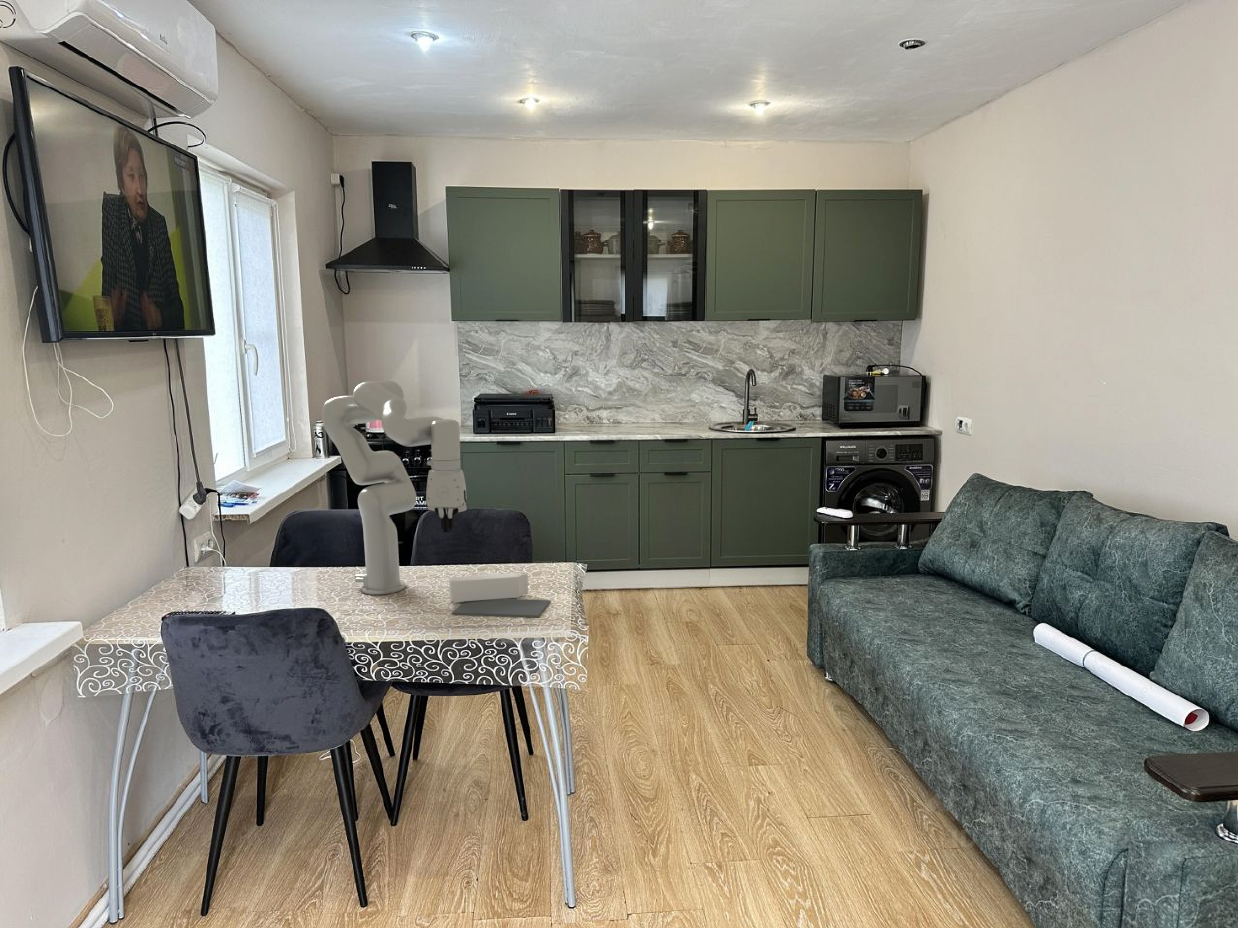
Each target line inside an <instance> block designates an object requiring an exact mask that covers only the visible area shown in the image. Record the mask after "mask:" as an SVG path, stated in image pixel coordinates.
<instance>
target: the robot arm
mask: <svg viewBox="0 0 1238 928" xmlns="http://www.w3.org/2000/svg"><path fill="white" fill-rule="evenodd" d="M404 397H405V396H404V391H403V388H402V387H401V386H400V384H398V383H397V382H395V381H393V380H372V381H371V380H369V381H365V382H361V383H359V384H358V385H357V386H356V387H355V388H354V390H353V394H352V395H342V396H336V397H333V398H330V399H328V400H326V401H325V403H324V405H323V406H322V409H321V419H322V425H323V428H324V430H325V432H326V434H327V435H328V436H329V438H330V440H331V441H332V442H333V444H334V445H335V447H336V448H337V451H338V452H339V454H340V457H341V459H342V462H343V464H344V466H345V467H346V469H347V472H348V474H349V475H350V478H351V479H352V481H353V482H354V483H355V484H356V485H359V486H366V485H368V486H367V487H365V488H363V489H362V490H361V491H360V492H359V494H358V497H357V505H358V510H359V513H360V517H361V523H362V530H363V542H364V543H363V546H364V557H365V558H364V561H365V574H362V573H361V574H357V573H356V574H355V575H354V582H355V583H362V584H363V585H362V586H361V593H364V594H367V595H388V594H394V593H397V592H400V591H402V590H404V589H406V582H405V581H404V580H401V576H400V574H401V573H400V562H399V561H400V559H399V541H398V540H399V539H398V530H397V529H398V528H397V527H396V524H395V522H393V520H392V519H391V518H390V516H391V515H395V514H399V513H404V512H408V511H410V510H412V509H413V508H414V507H415V506H416V504H417V493H416V490H415V487H414V485H413V482H412V481H411V479H410V476H409V474H408V472H407V470H406V468H405V466H404V464H403V462H402V460H401V458H400V457H399V455H397V454H396V453H395V452H394V451H391V450H378V451H374V450H372V448H371V447H370V445H369V444H368V441H367V439H366V438H365V437H364V435H363V434H362V433H361V432H360V431H358V430H357V429H356V428H354V427H353V426H352V425H354V424H355V425H357V424H366V423H373V422H375V423H376V422H377V421H379V420H380V421H381V426H382V429H383V432H384V433H385V435H386V436H387V437H388V438H389V439H391V440H393V441H394V442H395V443H397V444H399V445H401V446H404V447H417V446H419V447H420V446H426V445H431V459H430V460H427V461H426V465H427V466H430V468H431V469H430V470H428V475H427V480H426V481H427V482H426V491H425V492H426V493H425V494H426V497H425V498H426V499H425V500H426V501H425V502H426V505H427V510H428V511H432V512H435V513H436V514H437V515H438V516H439V518H440V521H441V523H440V525H441V529H442V533H444V534H445V533H448V534H449V533H451V532H452V531H453V530H454V527H455V519H454V518H455V516H456V515H457V514H459V513H461V512H465V511H467V509H468V508H467V497H468V496H467V486H466V485H467V484H466V480H465V479H466V478H465V474H464V471H463V470H464V469H461V440H460V438H461V436H460V435H461V433H460V431H461V430H460V429H461V428H460V424H459V422H458V421H457V420H455V419H448V418H447V419H445V418H442V417H438V416H425V417H423V416H422V417H413V418H412V417H411V418H406V417H405V416H406V414H407V410H408V409H407V408H408V407H407V406H408V405H407V403H406V401H405V400H404ZM369 485H370V486H369ZM447 509H448V511H447Z"/></svg>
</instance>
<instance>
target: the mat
mask: <svg viewBox="0 0 1238 928" xmlns="http://www.w3.org/2000/svg"><path fill="white" fill-rule="evenodd" d="M550 603H551V600H550V599H528V598H527V599H526V598H525V599H524V598H517V599H516V598H503V599H490V600H477V601H464V602H461V604H459V605H458V606H457V607H456V608H455V609H454V610H453V611H452V612H451V615H452V616H453V615H455V616H480V617H481V616H483V617H485V616H486V617H504V618H505V617H509V618H511V617H512V618H537V619H538V618H540V617H541V615H542V614H543V613H544V611H545V610H546V609H547V607H548V606H549V605H550Z"/></svg>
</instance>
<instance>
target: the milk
mask: <svg viewBox="0 0 1238 928" xmlns="http://www.w3.org/2000/svg"><path fill="white" fill-rule="evenodd" d="M448 579H449V581H448V583H449V584H448V585H449V587H448V588H449V590H448V591H449V599H450V601H451V603H460V602H461V603H463V602H464V601H477V600H490V599H516V598H517V599H518V598H520V597H522V596H524V595H528V594H529V585H528V584H529V582H528V581H529V577H528V574H527V573H524V574H522V573H516V572H506V573H496V574H494V573H493V574H492V573H491V574H481V575H479V574H478V575H465V576H461V575H460V576H450V577H448Z"/></svg>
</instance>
